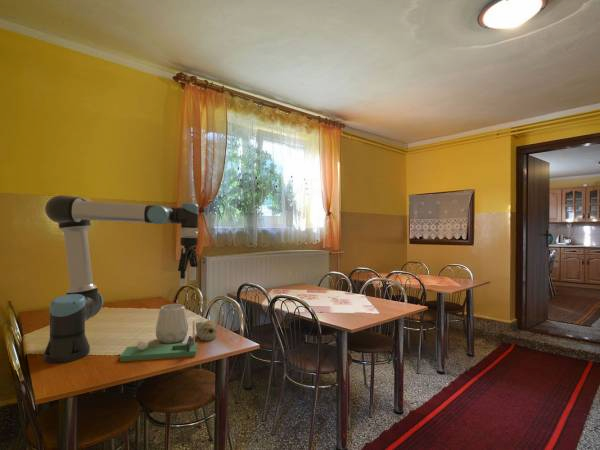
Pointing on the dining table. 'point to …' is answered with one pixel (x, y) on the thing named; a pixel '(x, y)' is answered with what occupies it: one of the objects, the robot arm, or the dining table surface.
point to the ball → (142, 345)
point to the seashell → (206, 330)
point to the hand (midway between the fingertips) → (187, 283)
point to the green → (161, 350)
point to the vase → (172, 324)
